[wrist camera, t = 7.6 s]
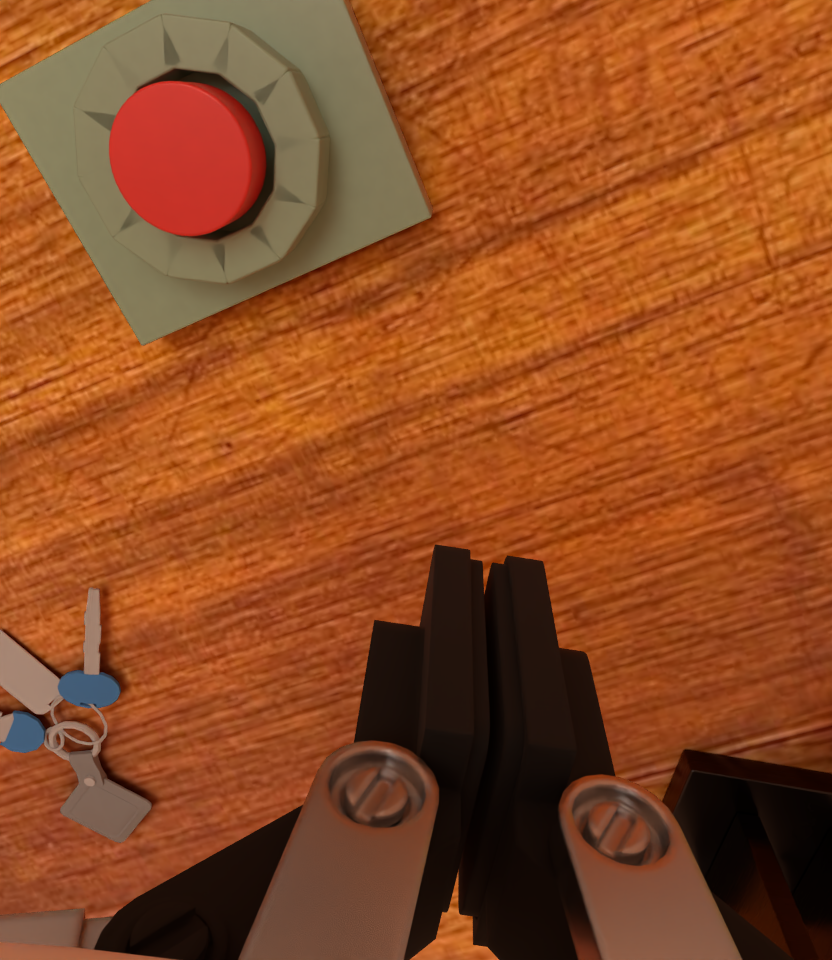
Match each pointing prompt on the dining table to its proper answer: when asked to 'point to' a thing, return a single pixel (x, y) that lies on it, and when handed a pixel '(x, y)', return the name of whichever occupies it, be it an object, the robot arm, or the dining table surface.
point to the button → (187, 157)
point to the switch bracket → (762, 844)
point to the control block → (282, 124)
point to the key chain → (70, 727)
